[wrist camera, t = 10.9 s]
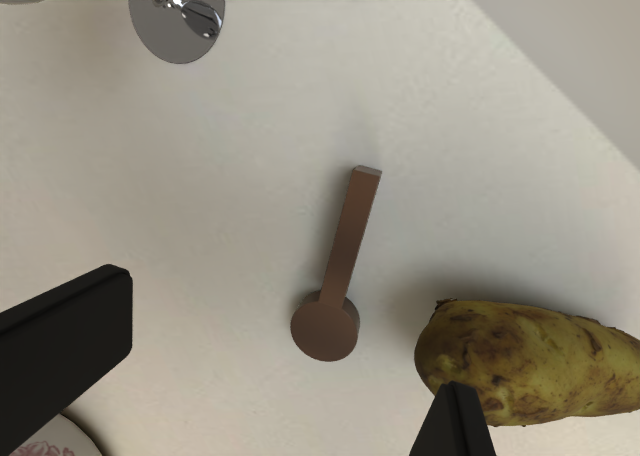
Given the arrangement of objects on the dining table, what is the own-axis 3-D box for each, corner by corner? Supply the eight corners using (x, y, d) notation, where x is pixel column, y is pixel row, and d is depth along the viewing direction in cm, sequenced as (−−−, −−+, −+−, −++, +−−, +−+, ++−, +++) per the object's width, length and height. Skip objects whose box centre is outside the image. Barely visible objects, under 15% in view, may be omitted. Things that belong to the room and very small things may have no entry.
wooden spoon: (334, 158, 21) (324, 161, 18) (408, 177, 20) (410, 184, 17) (291, 334, 26) (278, 358, 23) (350, 355, 25) (344, 383, 22)
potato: (550, 416, 22) (627, 555, 15) (393, 320, 23) (392, 407, 16) (646, 334, 20) (801, 457, 12) (463, 229, 20) (501, 282, 13)
